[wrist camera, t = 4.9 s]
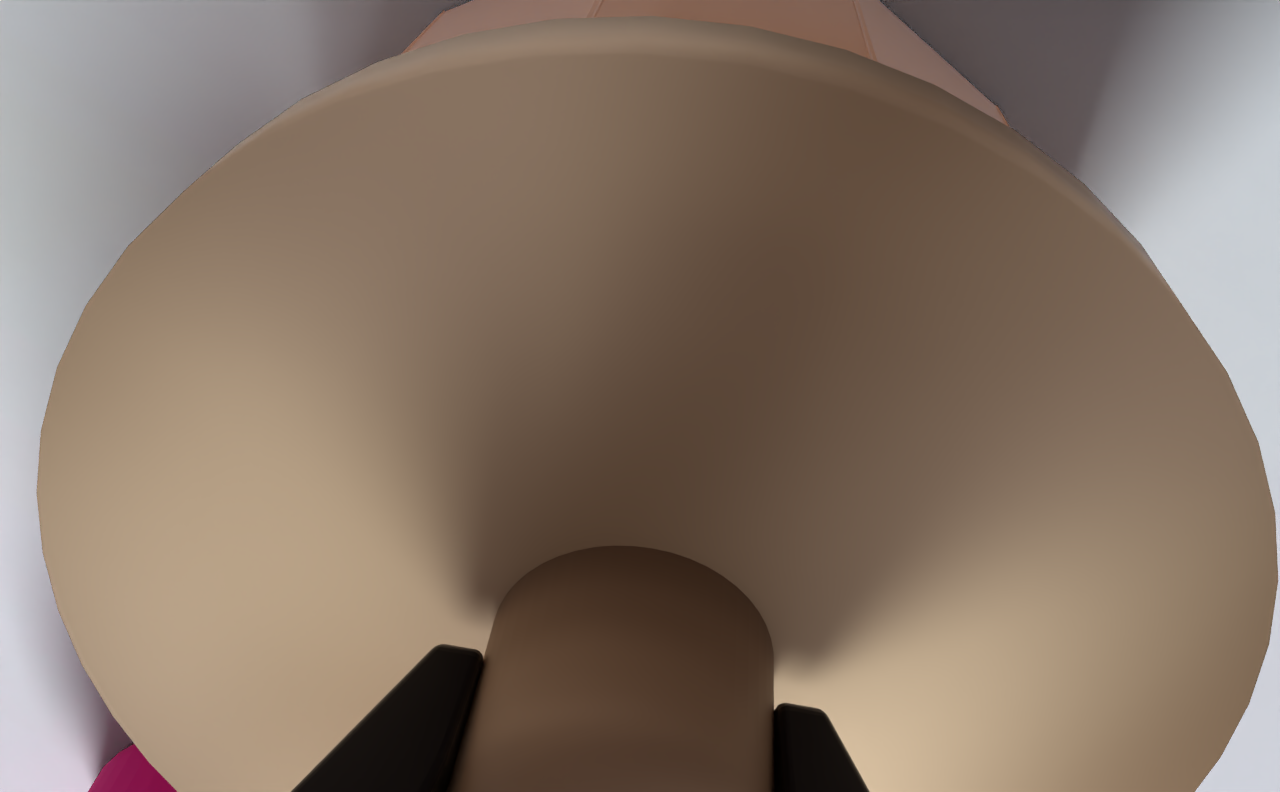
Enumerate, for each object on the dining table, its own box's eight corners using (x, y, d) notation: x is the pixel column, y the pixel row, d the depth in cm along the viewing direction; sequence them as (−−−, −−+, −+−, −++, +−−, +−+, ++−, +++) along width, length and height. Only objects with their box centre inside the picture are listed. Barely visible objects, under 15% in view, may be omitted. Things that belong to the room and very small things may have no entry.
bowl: (1141, 20, 14) (1282, 145, 10) (917, 611, 19) (955, 837, 15) (338, -118, 14) (182, -44, 10) (339, 512, 19) (237, 714, 15)
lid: (1491, 154, 8) (2238, 643, 4) (1008, 980, 14) (1112, 1526, 10) (10, -102, 8) (-771, 118, 4) (147, 831, 14) (-113, 1315, 10)
